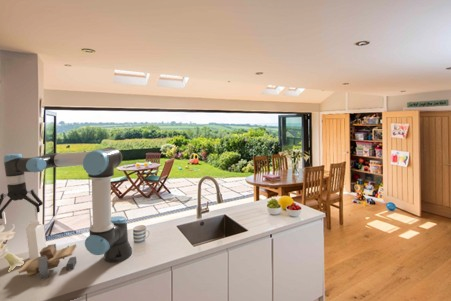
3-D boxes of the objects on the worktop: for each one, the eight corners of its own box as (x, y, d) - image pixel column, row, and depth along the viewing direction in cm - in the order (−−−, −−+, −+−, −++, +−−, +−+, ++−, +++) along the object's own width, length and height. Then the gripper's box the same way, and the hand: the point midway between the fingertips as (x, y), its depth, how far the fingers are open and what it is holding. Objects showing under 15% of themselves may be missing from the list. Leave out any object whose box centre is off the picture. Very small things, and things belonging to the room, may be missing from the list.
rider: (56, 252, 135) (53, 244, 134) (53, 257, 130) (50, 248, 129) (46, 256, 134) (42, 247, 133) (42, 261, 129) (39, 252, 128)
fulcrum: (57, 262, 140) (55, 243, 139) (48, 278, 126) (46, 257, 125) (50, 263, 139) (48, 245, 138) (40, 279, 125) (37, 259, 124)
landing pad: (76, 262, 140) (76, 256, 139) (73, 269, 133) (72, 263, 133) (70, 263, 139) (69, 257, 138) (67, 270, 132) (66, 264, 132)
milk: (38, 254, 150) (34, 219, 147) (47, 254, 149) (43, 219, 146) (29, 259, 144) (24, 223, 141) (38, 260, 143) (34, 223, 140)
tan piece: (79, 252, 142) (74, 238, 140) (74, 263, 131) (68, 247, 129) (31, 269, 135) (25, 254, 133) (22, 281, 124) (15, 266, 122)
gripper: (45, 178, 142) (49, 213, 144) (-14, 185, 128) (-8, 224, 131) (44, 180, 135) (49, 217, 138) (-18, 188, 122) (-12, 229, 125)
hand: (21, 221), depth 134 cm, fingers open, 13 cm apart
